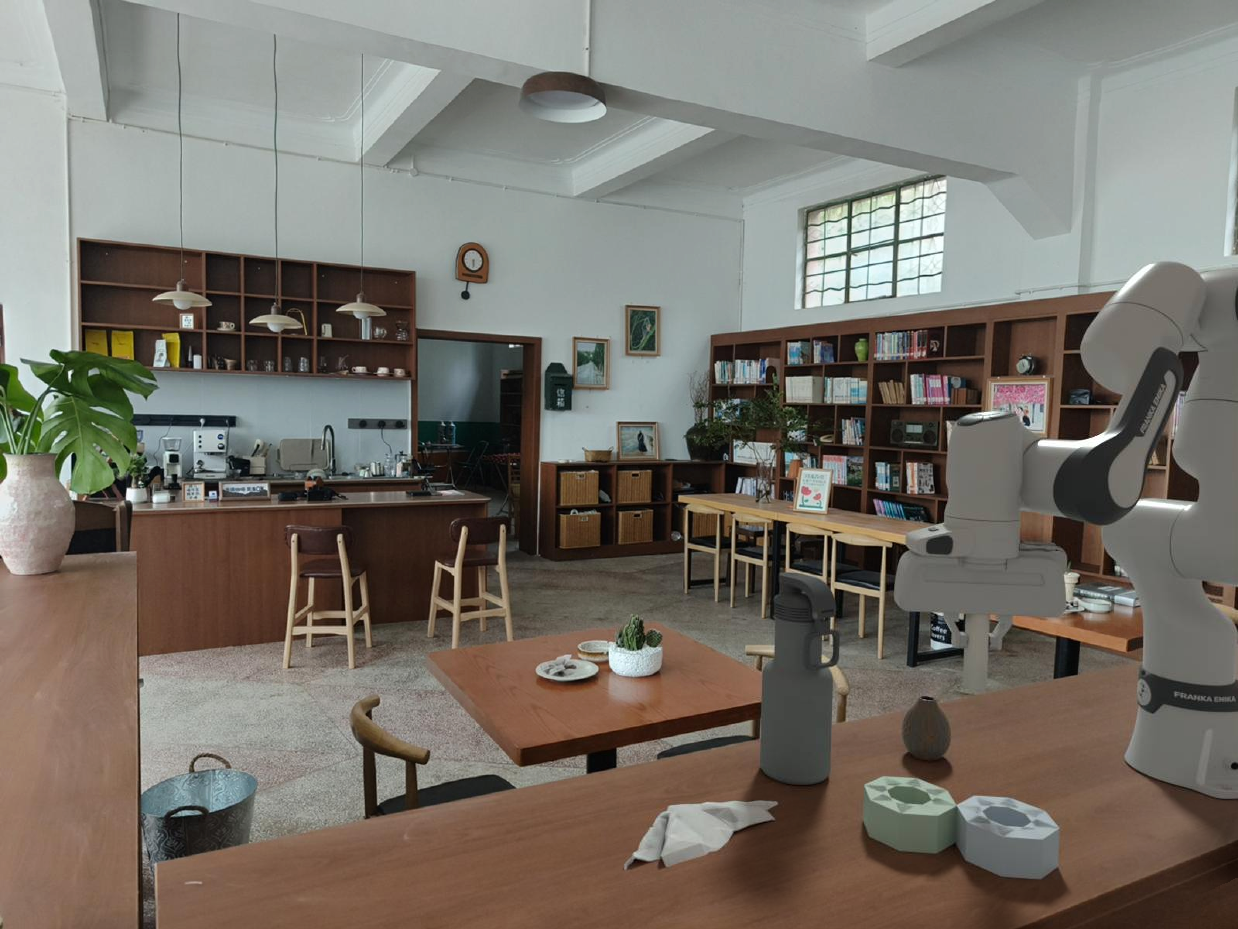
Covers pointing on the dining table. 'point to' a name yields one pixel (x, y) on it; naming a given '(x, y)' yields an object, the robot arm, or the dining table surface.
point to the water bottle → (799, 684)
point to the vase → (926, 730)
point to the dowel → (976, 652)
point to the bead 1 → (909, 814)
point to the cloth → (697, 829)
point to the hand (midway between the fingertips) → (976, 648)
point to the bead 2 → (1007, 837)
